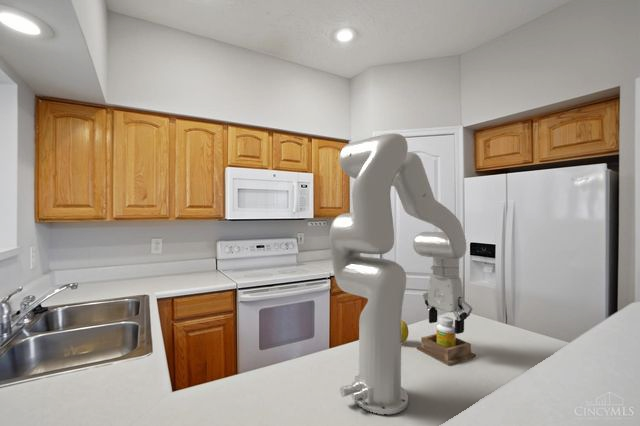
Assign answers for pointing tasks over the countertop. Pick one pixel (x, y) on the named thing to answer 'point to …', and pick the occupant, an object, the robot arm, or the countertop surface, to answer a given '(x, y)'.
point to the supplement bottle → (446, 332)
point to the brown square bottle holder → (446, 350)
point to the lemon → (404, 331)
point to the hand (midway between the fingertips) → (445, 327)
